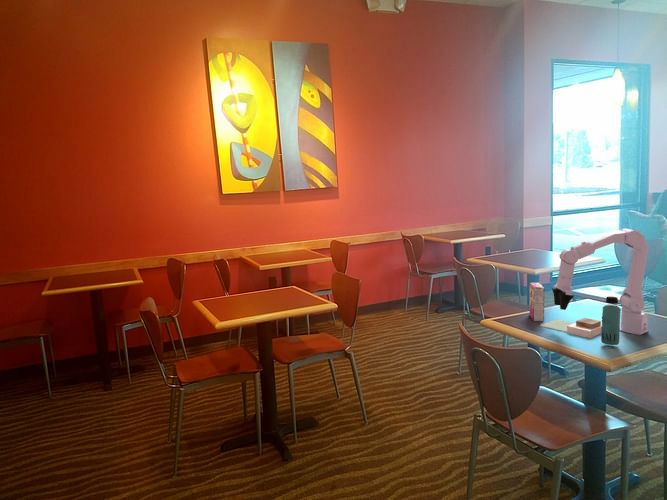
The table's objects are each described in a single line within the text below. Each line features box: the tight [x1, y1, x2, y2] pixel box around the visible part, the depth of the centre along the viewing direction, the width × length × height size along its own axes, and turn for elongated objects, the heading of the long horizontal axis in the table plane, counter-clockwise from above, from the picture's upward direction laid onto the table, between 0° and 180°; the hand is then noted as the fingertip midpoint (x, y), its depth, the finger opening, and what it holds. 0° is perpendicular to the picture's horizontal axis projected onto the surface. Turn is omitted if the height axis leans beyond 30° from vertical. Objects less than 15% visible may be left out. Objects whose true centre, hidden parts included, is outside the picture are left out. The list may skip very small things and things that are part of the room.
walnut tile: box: [575, 317, 602, 329], centre depth 210 cm, size 7×7×2 cm
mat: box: [539, 319, 575, 333], centre depth 221 cm, size 12×14×1 cm
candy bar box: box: [528, 282, 545, 322], centre depth 233 cm, size 11×5×16 cm, turn 168°
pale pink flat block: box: [566, 322, 602, 339], centre depth 211 cm, size 10×14×3 cm
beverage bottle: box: [600, 296, 622, 346], centre depth 191 cm, size 6×7×20 cm
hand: (559, 307), depth 214 cm, fingers open, 7 cm apart
